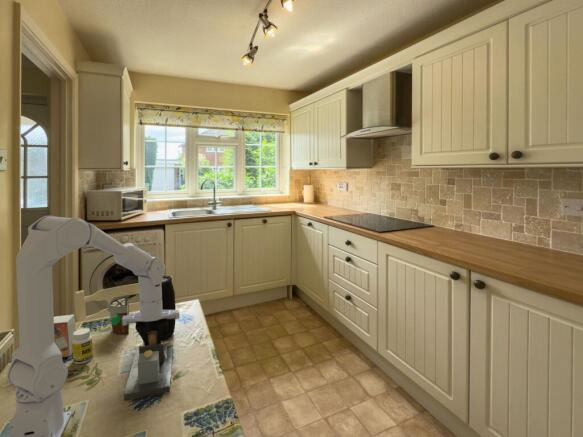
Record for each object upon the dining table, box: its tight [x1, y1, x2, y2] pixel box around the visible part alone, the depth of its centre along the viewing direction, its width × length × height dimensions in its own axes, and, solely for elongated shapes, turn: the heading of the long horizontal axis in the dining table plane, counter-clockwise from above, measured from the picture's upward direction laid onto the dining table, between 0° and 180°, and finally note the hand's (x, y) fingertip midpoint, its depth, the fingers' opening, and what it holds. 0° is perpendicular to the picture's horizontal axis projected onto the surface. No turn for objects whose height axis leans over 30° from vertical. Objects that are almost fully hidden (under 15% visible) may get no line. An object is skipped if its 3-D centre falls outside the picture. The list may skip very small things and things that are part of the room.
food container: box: [106, 294, 131, 336], centre depth 108 cm, size 12×6×10 cm, turn 25°
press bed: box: [123, 343, 174, 401], centre depth 85 cm, size 20×10×3 cm, turn 18°
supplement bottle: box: [72, 328, 94, 365], centre depth 90 cm, size 5×5×8 cm
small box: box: [54, 314, 77, 358], centre depth 94 cm, size 8×6×10 cm
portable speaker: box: [147, 275, 177, 342], centre depth 103 cm, size 9×9×20 cm
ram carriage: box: [138, 331, 165, 362], centre depth 89 cm, size 7×6×6 cm
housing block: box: [138, 350, 160, 384], centre depth 80 cm, size 4×4×7 cm
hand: (153, 345), depth 91 cm, fingers closed on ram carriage, 3 cm apart
